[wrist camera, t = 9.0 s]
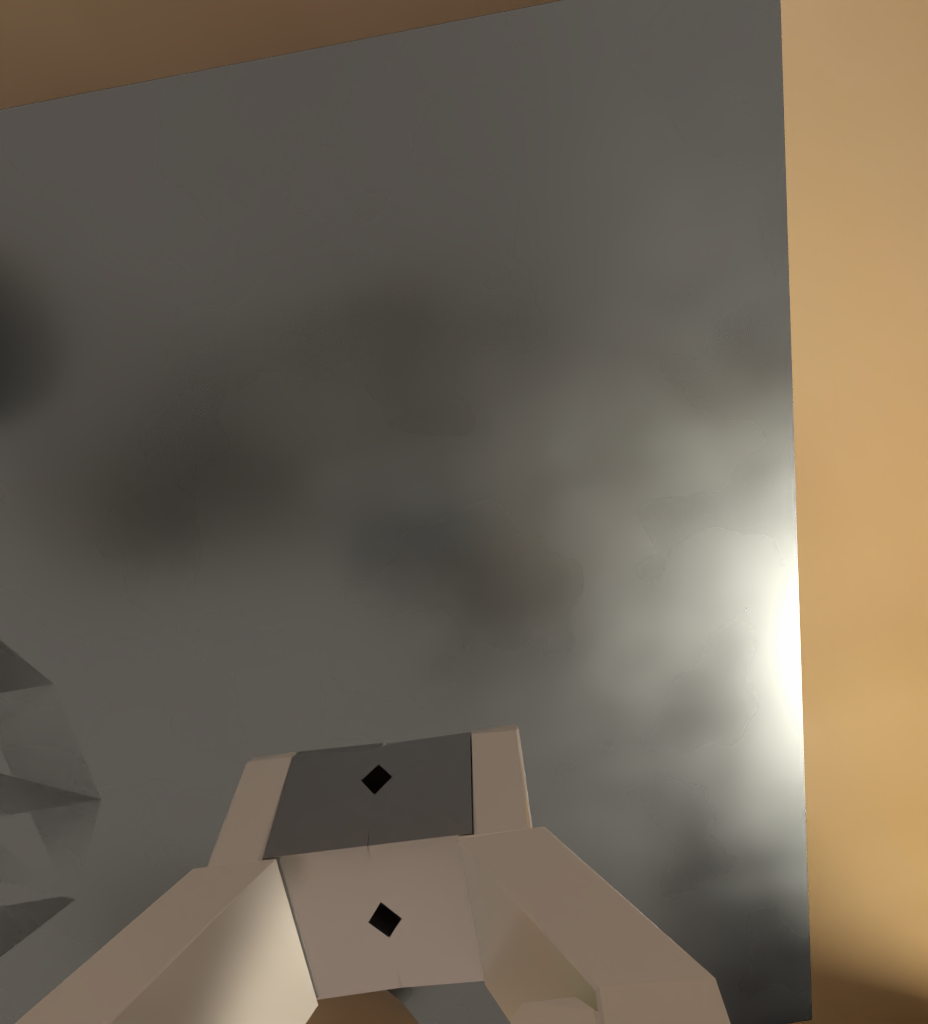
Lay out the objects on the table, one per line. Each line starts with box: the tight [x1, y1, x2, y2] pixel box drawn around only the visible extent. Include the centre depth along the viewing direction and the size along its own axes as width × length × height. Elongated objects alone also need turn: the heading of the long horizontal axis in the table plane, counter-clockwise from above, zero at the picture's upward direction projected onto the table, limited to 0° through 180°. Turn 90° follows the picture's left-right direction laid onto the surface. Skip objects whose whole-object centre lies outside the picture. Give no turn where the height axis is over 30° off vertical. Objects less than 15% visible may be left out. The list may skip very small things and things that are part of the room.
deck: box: [0, 0, 812, 1024], centre depth 14 cm, size 22×18×2 cm
